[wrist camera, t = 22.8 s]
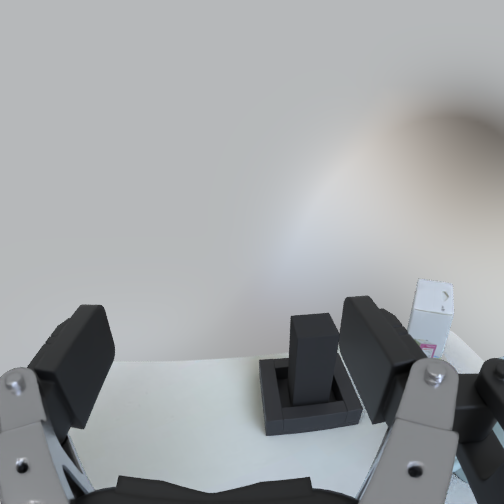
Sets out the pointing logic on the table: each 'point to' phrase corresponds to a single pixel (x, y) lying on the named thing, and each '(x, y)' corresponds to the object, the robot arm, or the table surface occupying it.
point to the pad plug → (311, 358)
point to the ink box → (431, 316)
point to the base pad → (310, 416)
